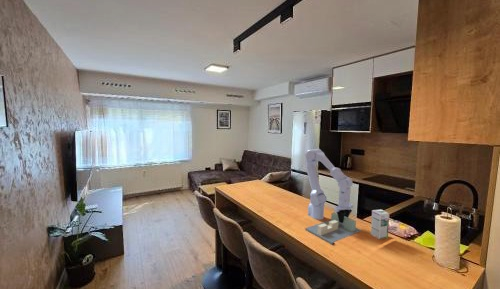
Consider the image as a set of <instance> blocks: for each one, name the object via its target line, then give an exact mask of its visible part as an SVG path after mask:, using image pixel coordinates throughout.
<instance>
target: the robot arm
mask: <svg viewBox="0 0 500 289" xmlns="http://www.w3.org/2000/svg"><path fill="white" fill-rule="evenodd" d="M304 156H305V162H304V164H305V165H304V166H305V169H306V173H307V177H308V181H309V185H310V188H311V192H310V195H309V196H310V202H309V204H308V206H307V216H309V217H311V218H312V219H314V220H324V218H325V217H324V216H325V203H326V202H327V196H326V194H325V192H324V190H322V189H321V185H320V181H319V178H318V177H319V176H318V172H317V170H316V167H315V166H316V165H315V164H316V163H317V162H321V164H323V166H324V167H325V168H326V169H328V170H329V174H330V176H331V177H332V178H333V179H334V180H335V181H336V182H337V185H338V187H339V194H338V196H339V197H338V205H337V206H335V207H334V208H333V209H334V210H333V211H334V212H335V213H337V215H338V218H339V222H341V223H343V221H344V216H345V217H348V218H350V217H349V216H350V215H351V214H352V212H353V210H352V209H353V208H354V204H353V203H350V202H351V189H352V188H351V187H352V186H353V180H352V178H351V177H350V176H349V177H348V176H347V175H345V173H344V172H343V171H342V169H341V168H339V167H335V165H334V164H333V163H332V162H331V161H330V160H329V158H328V157H327V156H326V155H325V152H324V151H322V150H321V149H320V148H315V149H307V151H306V152H305V154H304Z"/></svg>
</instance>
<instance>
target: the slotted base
mask: <svg viewBox="0 0 500 289" xmlns="http://www.w3.org/2000/svg"><path fill="white" fill-rule="evenodd" d="M304 229H305V231H307V232H308V233H310V234H311V235H313V236H316V237H317V238H320V239H321V240H322V241H324V242H326V243H328V244H330V245H335V244H336V242H337V241H340V240H342V239H343V240H344V239H345V238H348V237H350V236H353V235H355V234H357V233H361V232H362V231H363V230H362V229H361V228H359V227H356V229H355V231H353V232H352V231H349V230H347V229H345V228H344V223H342V224H341V225H338V221H336V220H333V221H331V219H330V220H326V221H323V222H320V223H318V224H314V225H310V226H307V227H305V228H304Z"/></svg>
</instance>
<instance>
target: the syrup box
mask: <svg viewBox="0 0 500 289" xmlns="http://www.w3.org/2000/svg"><path fill="white" fill-rule="evenodd" d="M389 221H390V213H389V212H388V211H387V210H383V209H373V210H371V223H370V224H371V227H370V235H371V236H373V237H375V238H376V239H378V240H383V239H388V237H389V223H390V222H389Z"/></svg>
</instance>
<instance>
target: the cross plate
mask: <svg viewBox="0 0 500 289" xmlns="http://www.w3.org/2000/svg"><path fill="white" fill-rule="evenodd" d="M330 215H331V216H330V220H331V221H333V220H336V221H338V225H341V224H342V223H341V222H339V218H338V215H337V212H335V211H334V212H331V214H330ZM343 223H344V228H345V229H347V230H349V231H352V232H353V231H355V229H356V228H357V220H355V219H352V218H350V217H345V216H344V221H343Z"/></svg>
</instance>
